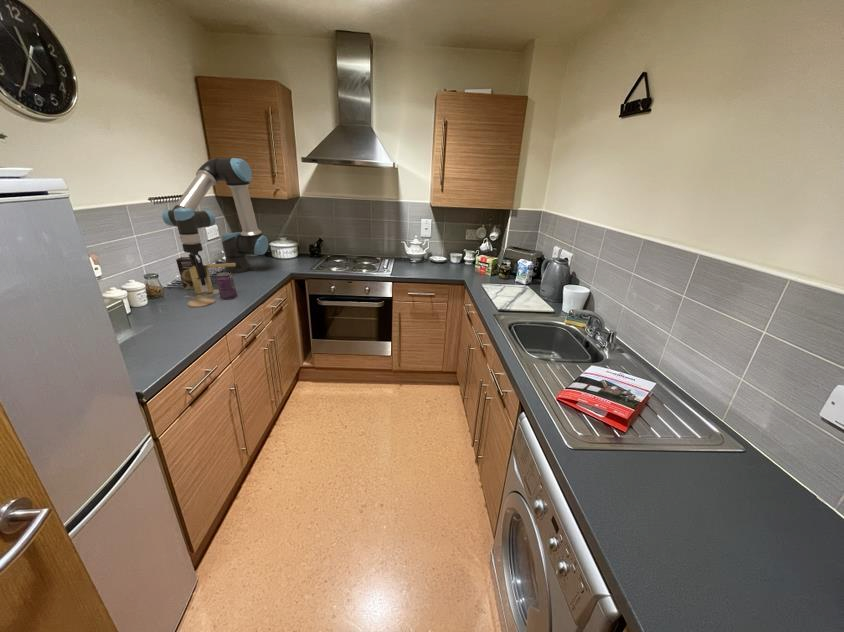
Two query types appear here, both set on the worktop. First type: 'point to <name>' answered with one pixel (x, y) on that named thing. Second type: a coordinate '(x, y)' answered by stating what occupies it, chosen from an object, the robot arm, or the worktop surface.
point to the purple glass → (226, 285)
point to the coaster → (201, 302)
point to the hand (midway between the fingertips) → (203, 289)
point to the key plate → (203, 294)
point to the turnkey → (208, 280)
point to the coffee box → (185, 272)
